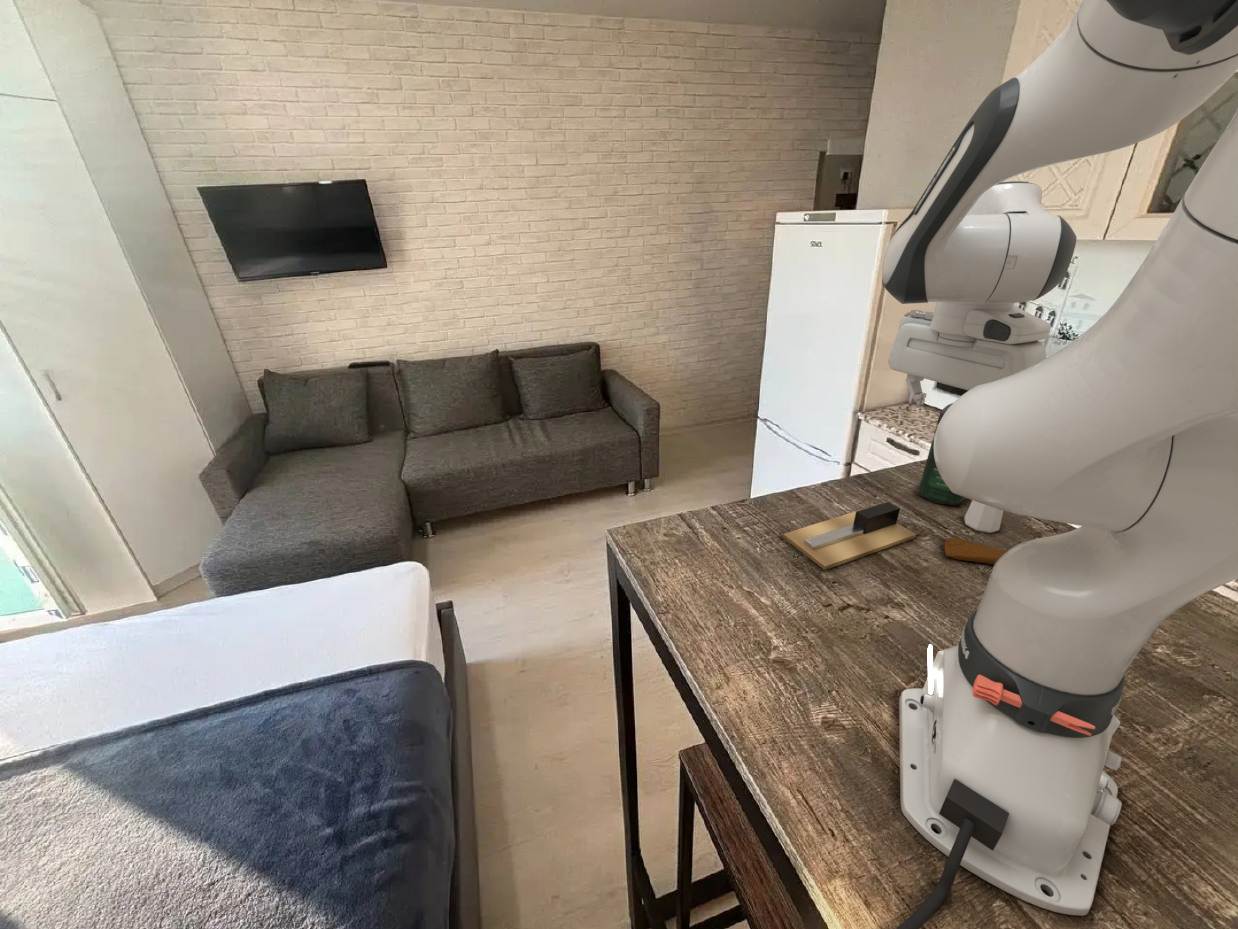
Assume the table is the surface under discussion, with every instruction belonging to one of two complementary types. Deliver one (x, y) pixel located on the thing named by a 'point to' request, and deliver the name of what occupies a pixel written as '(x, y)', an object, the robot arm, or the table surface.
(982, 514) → the pepper shaker
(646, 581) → the table surface
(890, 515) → the knife
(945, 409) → the coffee jar
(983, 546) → the primitive tool
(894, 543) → the cutting board
